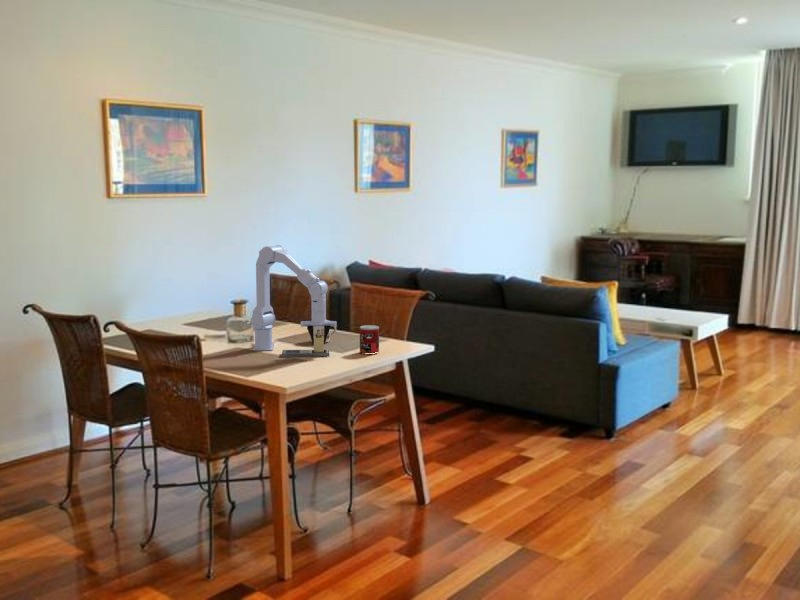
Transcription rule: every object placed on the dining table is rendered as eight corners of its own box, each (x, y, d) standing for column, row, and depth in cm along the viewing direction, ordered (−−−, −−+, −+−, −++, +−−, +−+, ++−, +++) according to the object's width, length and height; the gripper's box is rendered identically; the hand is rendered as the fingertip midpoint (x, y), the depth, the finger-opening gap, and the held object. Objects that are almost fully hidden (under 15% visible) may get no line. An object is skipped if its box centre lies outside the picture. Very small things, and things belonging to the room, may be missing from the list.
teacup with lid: (314, 344, 341) (314, 318, 339) (307, 340, 349) (306, 314, 347) (339, 342, 346) (339, 316, 345) (332, 338, 354) (332, 313, 353)
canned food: (356, 352, 325) (356, 326, 324) (371, 350, 330) (371, 324, 329) (367, 355, 319) (367, 329, 318) (382, 353, 324) (382, 327, 323)
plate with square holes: (282, 353, 322) (282, 349, 322) (329, 353, 324) (329, 349, 324) (281, 357, 315) (281, 353, 315) (329, 356, 317) (329, 352, 317)
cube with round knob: (314, 350, 321) (313, 333, 320) (323, 350, 322) (323, 333, 321) (313, 352, 317) (313, 335, 316) (323, 352, 318) (323, 335, 317)
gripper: (300, 312, 313) (300, 346, 315) (336, 312, 314) (336, 345, 316) (300, 309, 320) (301, 342, 322) (336, 309, 321) (336, 342, 323)
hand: (318, 344), depth 319 cm, fingers closed on cube with round knob, 4 cm apart
